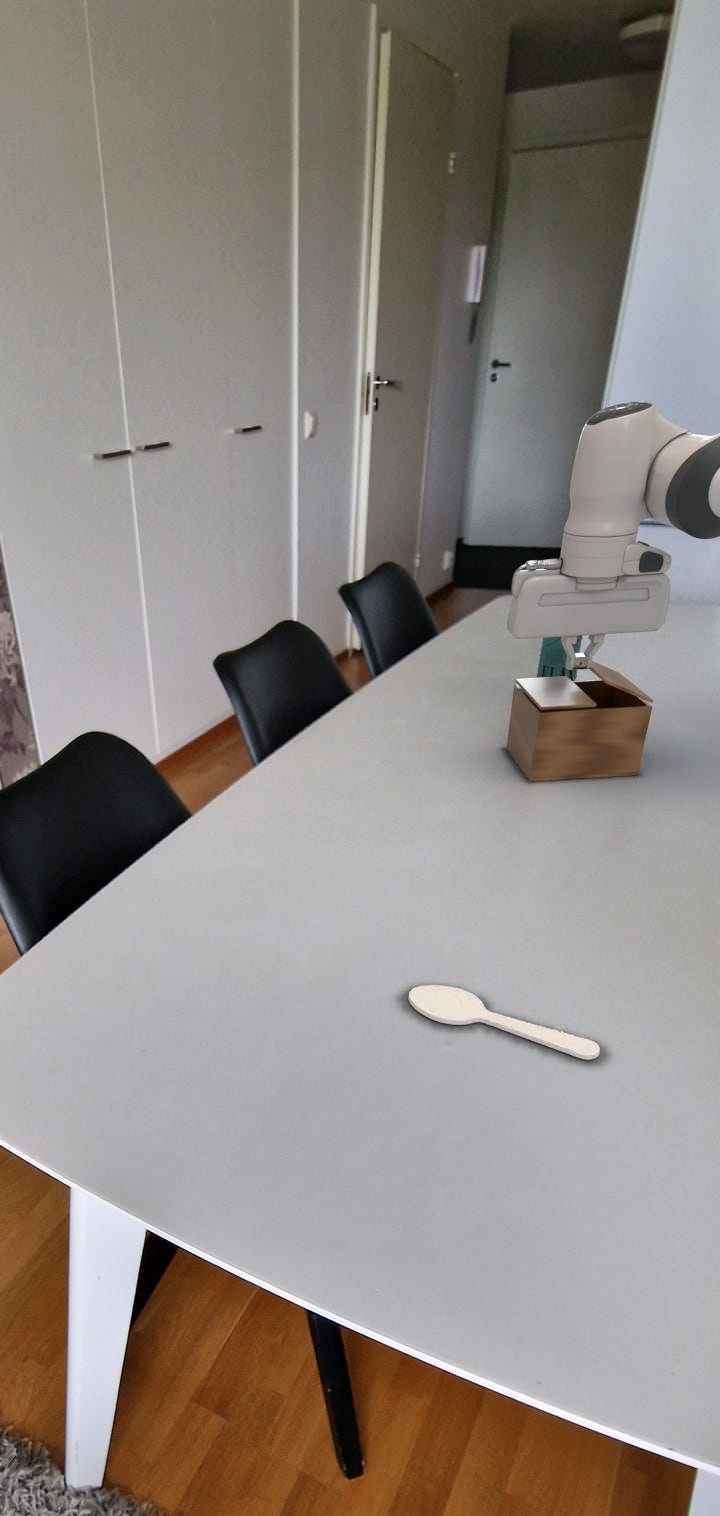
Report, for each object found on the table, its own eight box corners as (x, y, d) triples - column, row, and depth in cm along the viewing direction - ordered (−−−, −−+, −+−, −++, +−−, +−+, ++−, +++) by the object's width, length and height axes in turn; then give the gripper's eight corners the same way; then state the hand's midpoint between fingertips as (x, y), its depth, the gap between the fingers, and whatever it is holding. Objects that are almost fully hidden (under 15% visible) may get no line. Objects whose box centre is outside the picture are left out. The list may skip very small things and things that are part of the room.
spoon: (588, 1072, 78) (589, 1067, 77) (397, 1007, 87) (397, 1003, 86) (608, 1039, 81) (609, 1034, 81) (423, 980, 90) (423, 976, 90)
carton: (605, 743, 139) (619, 672, 133) (637, 775, 128) (653, 700, 122) (506, 748, 139) (514, 678, 133) (530, 781, 128) (540, 707, 122)
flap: (617, 675, 133) (619, 672, 133) (652, 703, 122) (653, 700, 122) (574, 656, 131) (575, 653, 131) (605, 683, 121) (607, 680, 120)
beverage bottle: (530, 703, 155) (548, 573, 143) (535, 691, 160) (553, 565, 148) (571, 706, 153) (592, 574, 141) (575, 694, 158) (596, 565, 146)
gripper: (521, 566, 115) (507, 679, 123) (685, 556, 115) (660, 670, 123) (508, 556, 120) (495, 666, 128) (665, 547, 120) (642, 657, 128)
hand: (577, 668), depth 126 cm, fingers closed
